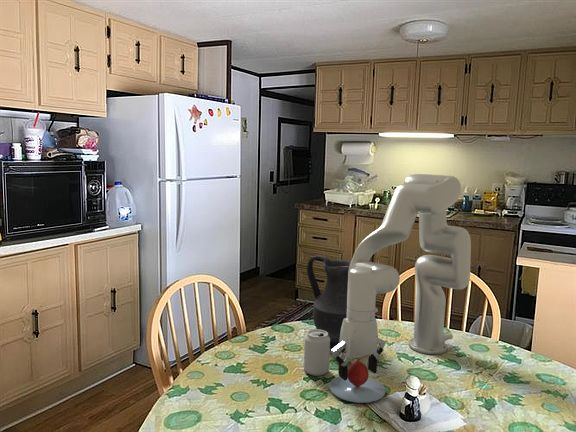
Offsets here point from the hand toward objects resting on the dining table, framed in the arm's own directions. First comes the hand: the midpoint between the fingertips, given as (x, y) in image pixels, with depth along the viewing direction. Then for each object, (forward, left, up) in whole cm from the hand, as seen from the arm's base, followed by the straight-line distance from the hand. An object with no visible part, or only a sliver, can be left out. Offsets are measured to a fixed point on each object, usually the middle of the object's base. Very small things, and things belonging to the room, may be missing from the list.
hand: (357, 374), depth 130 cm
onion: (0, 0, -4) cm, 4 cm away
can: (+4, -15, -5) cm, 16 cm away
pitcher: (-12, -31, -5) cm, 34 cm away
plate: (0, 0, -5) cm, 5 cm away
